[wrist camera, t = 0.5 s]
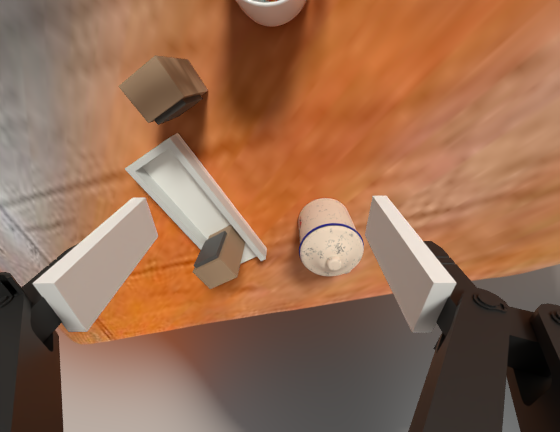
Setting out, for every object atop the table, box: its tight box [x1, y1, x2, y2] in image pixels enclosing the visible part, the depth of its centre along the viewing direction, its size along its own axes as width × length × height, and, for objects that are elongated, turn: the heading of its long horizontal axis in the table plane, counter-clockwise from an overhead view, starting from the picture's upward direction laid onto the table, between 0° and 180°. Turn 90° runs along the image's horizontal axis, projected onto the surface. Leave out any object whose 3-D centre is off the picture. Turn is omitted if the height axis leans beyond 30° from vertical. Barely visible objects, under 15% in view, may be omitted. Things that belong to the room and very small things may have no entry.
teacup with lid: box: [298, 198, 364, 276], centre depth 38 cm, size 12×9×12 cm
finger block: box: [119, 56, 208, 125], centre depth 28 cm, size 5×5×9 cm
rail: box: [125, 133, 267, 289], centre depth 37 cm, size 24×9×10 cm, turn 31°
